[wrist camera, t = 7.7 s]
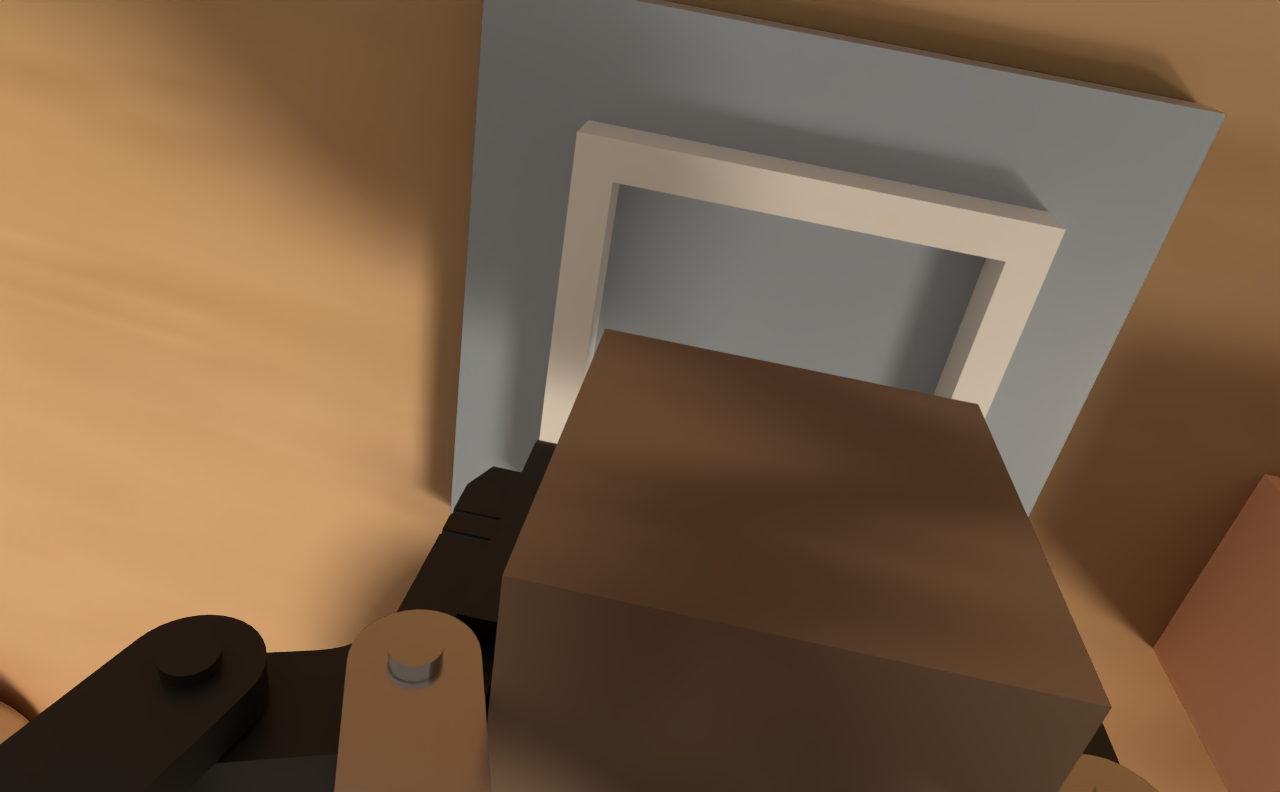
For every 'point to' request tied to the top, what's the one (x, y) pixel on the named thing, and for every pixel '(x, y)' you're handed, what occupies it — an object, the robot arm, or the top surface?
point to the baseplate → (800, 216)
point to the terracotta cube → (1234, 648)
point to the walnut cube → (779, 594)
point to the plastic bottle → (10, 721)
